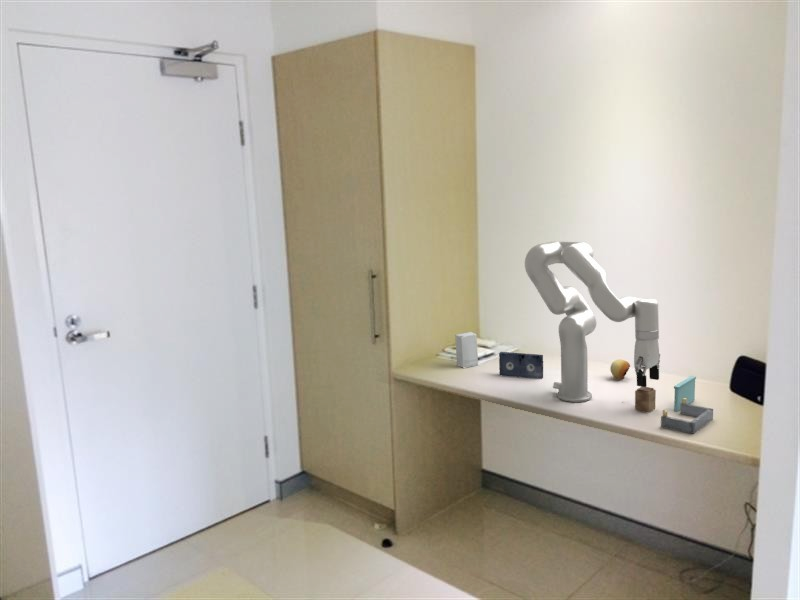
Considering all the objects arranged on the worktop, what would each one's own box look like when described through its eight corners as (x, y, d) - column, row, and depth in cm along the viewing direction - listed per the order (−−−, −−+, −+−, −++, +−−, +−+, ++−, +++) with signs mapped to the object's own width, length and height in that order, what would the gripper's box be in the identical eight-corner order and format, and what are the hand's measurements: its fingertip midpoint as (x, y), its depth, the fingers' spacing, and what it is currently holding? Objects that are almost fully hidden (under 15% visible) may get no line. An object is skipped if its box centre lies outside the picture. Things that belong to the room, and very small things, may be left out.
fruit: (627, 375, 264) (627, 356, 262) (632, 381, 255) (632, 362, 254) (608, 376, 264) (608, 357, 263) (612, 382, 256) (612, 362, 255)
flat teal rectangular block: (673, 410, 222) (673, 386, 220) (690, 399, 232) (691, 375, 231) (678, 411, 221) (678, 387, 219) (695, 400, 231) (696, 376, 230)
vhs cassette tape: (543, 377, 267) (543, 354, 266) (541, 379, 265) (541, 356, 263) (501, 373, 276) (500, 351, 274) (499, 375, 273) (498, 353, 272)
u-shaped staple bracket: (660, 426, 209) (661, 410, 208) (681, 412, 220) (682, 397, 219) (692, 434, 202) (693, 417, 201) (713, 419, 213) (713, 403, 212)
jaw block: (635, 409, 225) (635, 389, 224) (641, 406, 229) (641, 385, 227) (648, 412, 222) (649, 391, 220) (655, 408, 225) (655, 388, 224)
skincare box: (471, 362, 295) (470, 331, 292) (478, 365, 289) (477, 333, 287) (455, 365, 291) (454, 333, 289) (462, 368, 286) (461, 336, 283)
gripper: (647, 328, 229) (648, 375, 231) (624, 338, 217) (626, 387, 220) (668, 330, 223) (669, 378, 226) (646, 340, 212) (647, 390, 214)
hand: (648, 382), depth 223 cm, fingers open, 9 cm apart
